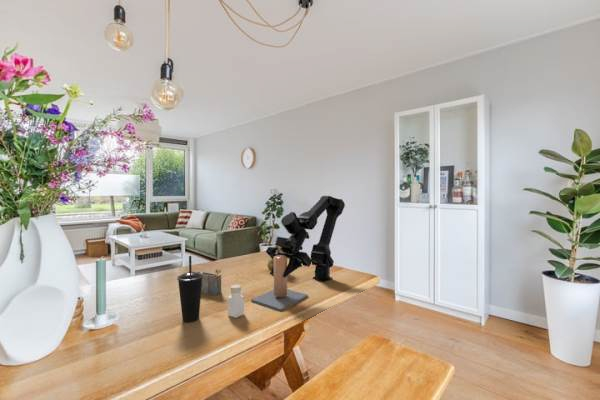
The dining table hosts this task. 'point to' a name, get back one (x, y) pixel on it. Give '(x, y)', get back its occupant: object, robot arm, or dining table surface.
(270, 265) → the decorative figurine
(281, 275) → the wooden peg
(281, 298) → the rubber mat
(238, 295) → the pepper shaker
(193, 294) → the drinking cup
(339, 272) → the dining table surface
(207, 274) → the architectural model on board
